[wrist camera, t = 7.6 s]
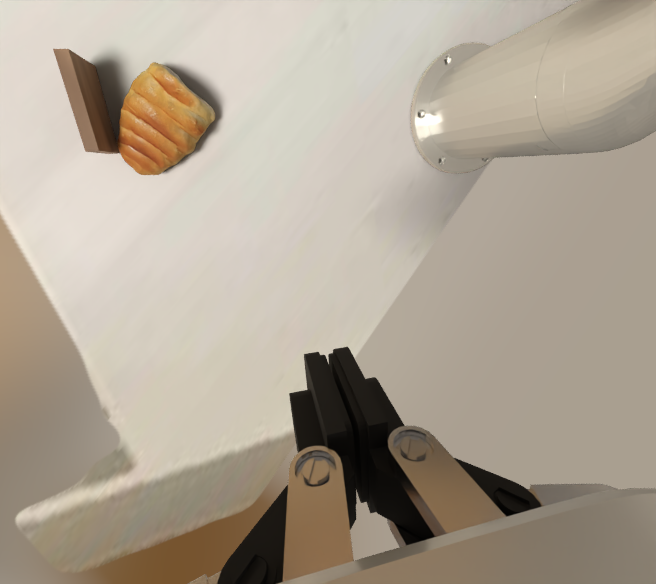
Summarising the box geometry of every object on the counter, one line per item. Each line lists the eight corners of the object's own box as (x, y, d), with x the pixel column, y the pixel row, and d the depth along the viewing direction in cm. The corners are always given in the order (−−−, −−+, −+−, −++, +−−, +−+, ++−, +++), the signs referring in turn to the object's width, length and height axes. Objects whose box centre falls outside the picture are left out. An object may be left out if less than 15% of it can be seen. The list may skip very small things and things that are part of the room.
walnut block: (95, 66, 28) (68, 48, 24) (119, 153, 31) (98, 150, 27) (82, 66, 28) (53, 48, 24) (108, 153, 31) (85, 151, 27)
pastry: (169, 190, 33) (159, 193, 30) (103, 144, 31) (83, 141, 27) (221, 112, 32) (217, 105, 28) (156, 57, 29) (142, 42, 26)
